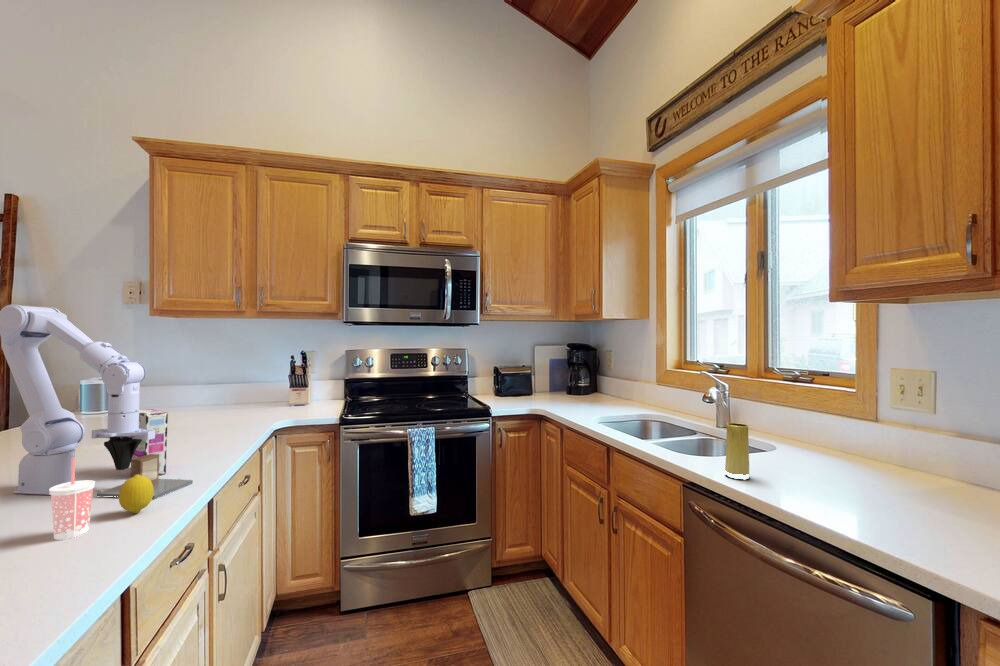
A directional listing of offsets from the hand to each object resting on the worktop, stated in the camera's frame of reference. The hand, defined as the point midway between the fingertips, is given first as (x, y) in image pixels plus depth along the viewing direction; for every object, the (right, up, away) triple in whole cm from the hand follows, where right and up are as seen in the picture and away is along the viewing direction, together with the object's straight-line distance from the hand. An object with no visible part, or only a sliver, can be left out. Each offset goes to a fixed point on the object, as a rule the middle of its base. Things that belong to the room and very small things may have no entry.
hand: (122, 468), depth 105 cm
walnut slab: (+6, -4, -1) cm, 7 cm away
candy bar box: (-4, -5, +13) cm, 14 cm away
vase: (+155, -7, +14) cm, 156 cm away
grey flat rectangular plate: (+6, -5, -1) cm, 8 cm away
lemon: (+15, -5, -14) cm, 21 cm away
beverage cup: (+11, -5, -24) cm, 27 cm away
